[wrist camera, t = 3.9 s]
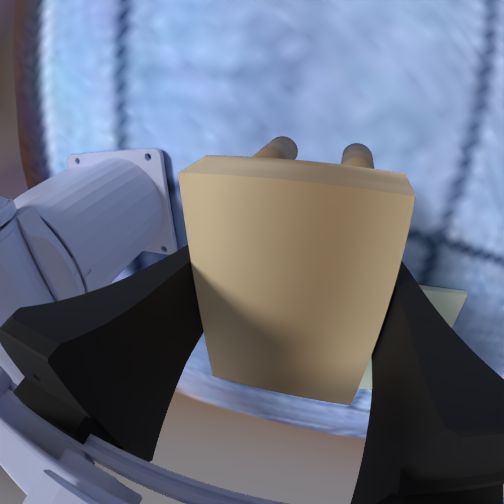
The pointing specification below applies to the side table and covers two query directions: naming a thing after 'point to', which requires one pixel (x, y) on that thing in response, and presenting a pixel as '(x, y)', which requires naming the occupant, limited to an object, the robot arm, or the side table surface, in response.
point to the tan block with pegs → (294, 264)
